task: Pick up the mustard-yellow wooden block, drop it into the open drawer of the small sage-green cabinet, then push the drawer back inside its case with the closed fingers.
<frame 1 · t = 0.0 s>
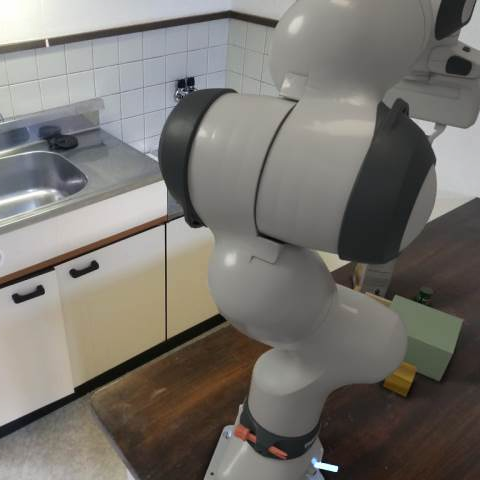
hand: (393, 140, 81), 48 cm above the table, tool pointing down, fingers open, 8 cm apart
cabinet: (410, 349, 109), on the table
drawer: (371, 318, 111), point 4 cm above the table, slide at 7.0 cm
block: (396, 384, 101), on the table
coffee box: (366, 292, 125), on the table
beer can: (421, 304, 121), on the table
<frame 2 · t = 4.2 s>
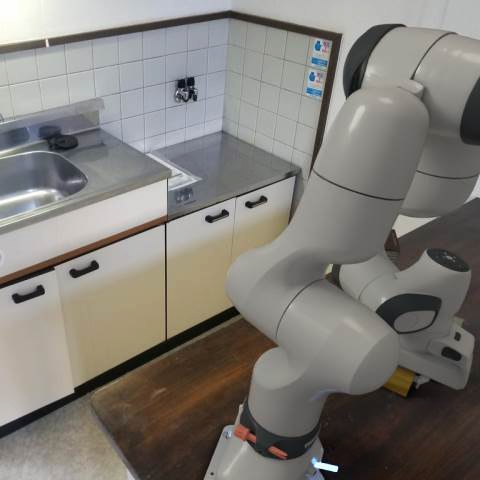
hand: (399, 378, 100), 2 cm above the table, tool pointing down, fingers closed on block, 4 cm apart
block: (396, 384, 101), on the table, touching gripper
everything else where it was.
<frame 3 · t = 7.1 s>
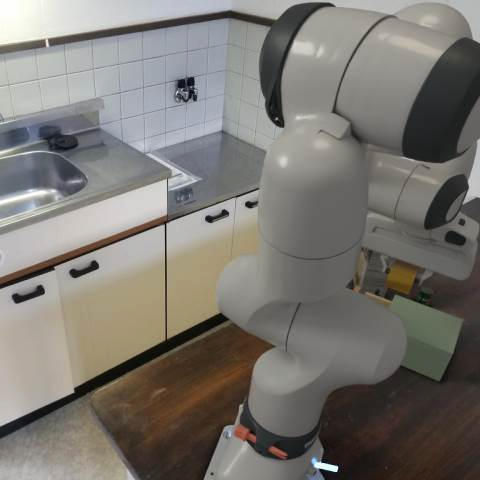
hand: (402, 277, 98), 20 cm above the table, tool pointing down, fingers closed on block, 4 cm apart
block: (399, 284, 99), point 18 cm above the table, touching gripper
everything else where it was.
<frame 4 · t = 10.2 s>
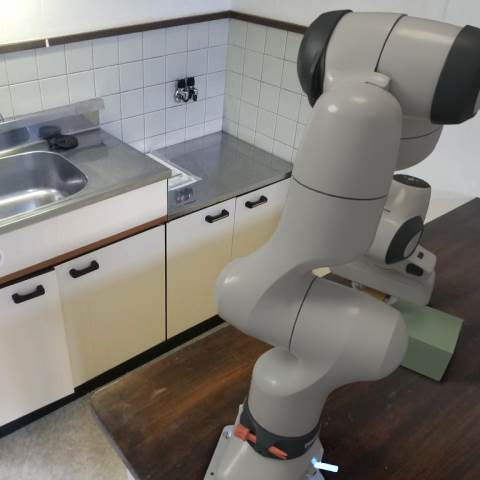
hand: (371, 302, 109), 8 cm above the table, tool pointing down, fingers closed on block, 4 cm apart
block: (369, 308, 110), point 6 cm above the table, touching gripper
everything else where it was.
when the fingers open (8 cm above the table, at t = 10.2 s): block drops 4 cm, resting on drawer.
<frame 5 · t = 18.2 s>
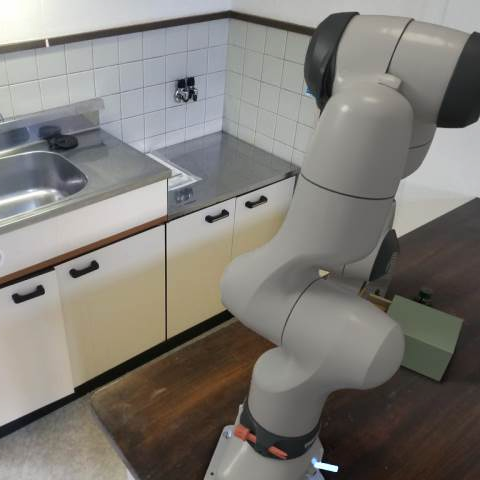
hand: (342, 313, 111), 5 cm above the table, tool pointing down, fingers closed
drawer: (375, 319, 111), point 4 cm above the table, slide at 6.0 cm, touching block, gripper
block: (368, 324, 112), point 2 cm above the table, touching drawer
everything else where it was.
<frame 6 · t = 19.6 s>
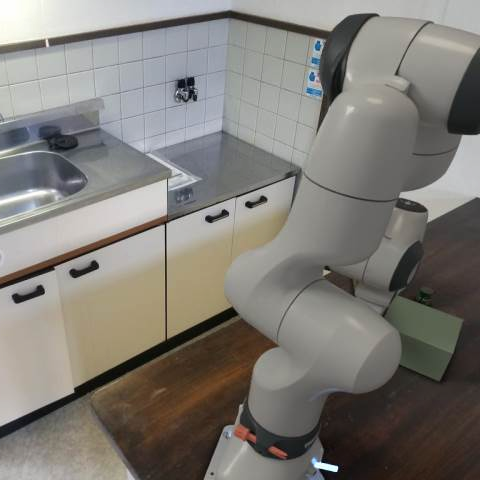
hand: (367, 323, 108), 5 cm above the table, tool pointing down, fingers closed, pressing on drawer
drawer: (402, 330, 108), point 4 cm above the table, slide at 0.4 cm, touching block, gripper
block: (394, 335, 110), point 2 cm above the table, touching drawer
everything else where it was.
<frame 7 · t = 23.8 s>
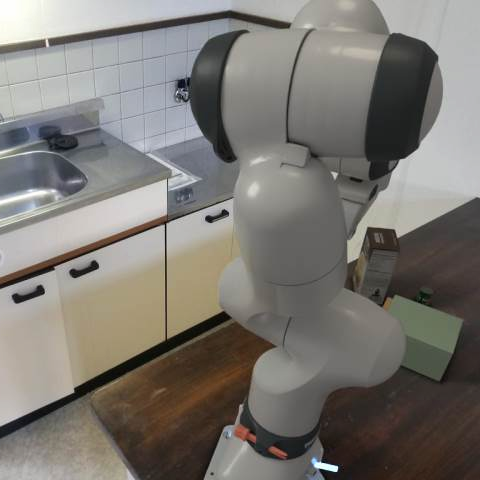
hand: (348, 236, 100), 25 cm above the table, tool pointing down, fingers closed
drawer: (404, 331, 108), point 4 cm above the table, slide at 0.0 cm, touching block, cabinet
everything else where it was.
at the end: block inside the target area in the cabinet (3.5 cm from its centre), point 2.0 cm above the cabinet's base; drawer slide at 0.0 cm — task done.
